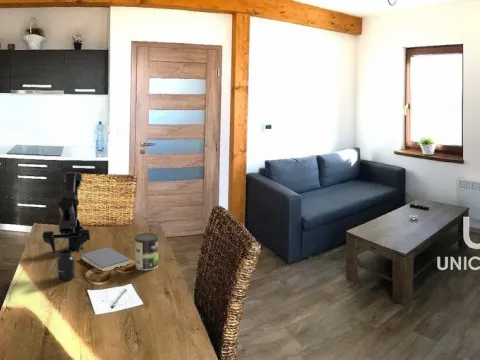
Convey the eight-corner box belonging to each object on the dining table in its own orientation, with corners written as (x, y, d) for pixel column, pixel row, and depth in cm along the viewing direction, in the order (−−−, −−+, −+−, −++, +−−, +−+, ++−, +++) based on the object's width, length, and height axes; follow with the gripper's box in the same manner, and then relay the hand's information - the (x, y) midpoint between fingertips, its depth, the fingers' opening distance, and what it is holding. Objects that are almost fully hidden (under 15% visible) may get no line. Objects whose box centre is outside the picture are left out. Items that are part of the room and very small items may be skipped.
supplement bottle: (56, 282, 173) (54, 254, 170) (58, 275, 179) (57, 248, 177) (74, 280, 175) (72, 253, 172) (75, 274, 181) (74, 247, 179)
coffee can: (161, 263, 196) (161, 234, 193) (152, 271, 186) (152, 241, 183) (141, 260, 198) (140, 232, 195) (131, 269, 188) (130, 239, 185)
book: (81, 260, 197) (81, 254, 197) (108, 253, 207) (108, 247, 207) (102, 273, 184) (102, 267, 183) (130, 265, 194) (130, 258, 193)
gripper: (41, 213, 177) (38, 247, 169) (88, 211, 182) (87, 244, 174) (46, 225, 186) (43, 258, 177) (90, 223, 191) (89, 255, 183)
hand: (66, 253), depth 178 cm, fingers open, 9 cm apart
